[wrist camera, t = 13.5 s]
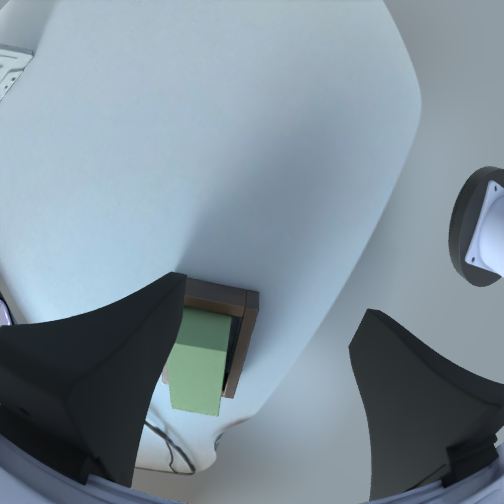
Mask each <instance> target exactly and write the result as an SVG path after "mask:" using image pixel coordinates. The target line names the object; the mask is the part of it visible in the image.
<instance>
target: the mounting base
mask: <svg viewBox="0 0 504 504" xmlns="http://www.w3.org/2000/svg"><path fill="white" fill-rule="evenodd" d="M184 305H186V306H190V307H194V308H199V309H204V310H208V311H213V312H218V313H223V314H228V315H233V316H238V317H240V320H239V324H238V328H237V332H236V337H235V341H234V345H233V349H232V353H231V358H230V362H229V366H228V370H227V373H224V378H223V385H222V393H221V397H226V398H232V399H233V398H234V394H235V391H236V388H237V384H238V381H239V378H240V374H241V371H242V367H243V364H244V361H245V357H246V354H247V350H248V347H249V343H250V340H251V336H252V333H253V329H254V325H255V322H256V318H257V315H258V311H259V292H255V291H250V290H247V291H246V290H244V289H239V288H234V287H229V286H224V285H219V284H214V283H210V282H205V281H200V280H196V279H191V278H187V279H186V288H185V297H184ZM162 383H163V384H166V385H169V376H168V363H167V361H166V364H165V366H164V368H163V370H162Z"/></svg>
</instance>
